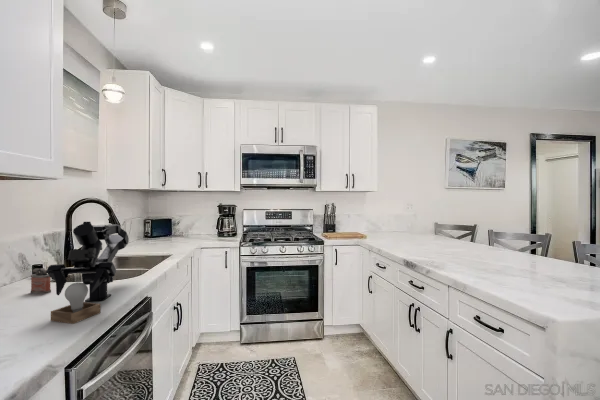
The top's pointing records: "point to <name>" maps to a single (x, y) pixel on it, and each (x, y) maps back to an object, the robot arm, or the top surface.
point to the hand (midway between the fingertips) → (74, 293)
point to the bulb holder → (69, 317)
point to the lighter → (40, 282)
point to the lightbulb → (76, 295)
